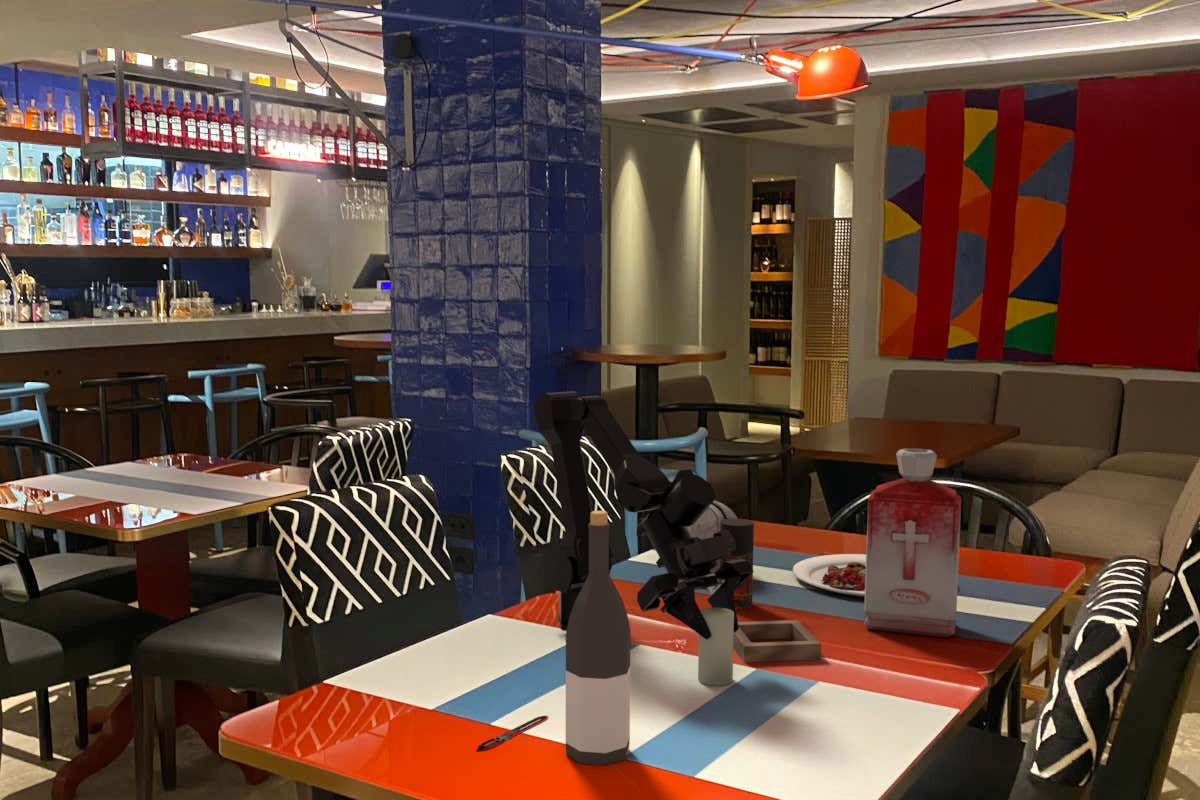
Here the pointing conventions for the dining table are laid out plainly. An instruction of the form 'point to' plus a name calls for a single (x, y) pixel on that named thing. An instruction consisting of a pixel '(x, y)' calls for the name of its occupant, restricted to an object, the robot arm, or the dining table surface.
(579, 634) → the wine bottle
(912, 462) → the bottle
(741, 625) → the collar
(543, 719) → the pen
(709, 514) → the decorative orb
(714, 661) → the pale green cylinder
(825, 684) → the dining table surface
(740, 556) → the deodorant
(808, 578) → the plated food
